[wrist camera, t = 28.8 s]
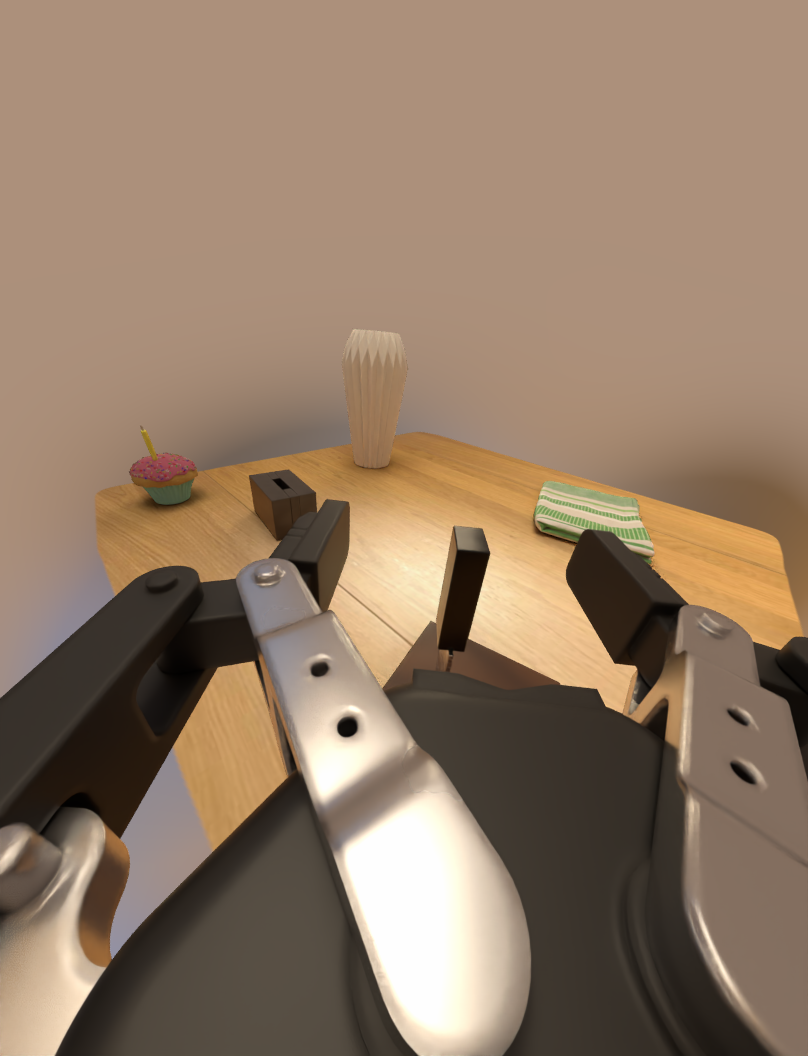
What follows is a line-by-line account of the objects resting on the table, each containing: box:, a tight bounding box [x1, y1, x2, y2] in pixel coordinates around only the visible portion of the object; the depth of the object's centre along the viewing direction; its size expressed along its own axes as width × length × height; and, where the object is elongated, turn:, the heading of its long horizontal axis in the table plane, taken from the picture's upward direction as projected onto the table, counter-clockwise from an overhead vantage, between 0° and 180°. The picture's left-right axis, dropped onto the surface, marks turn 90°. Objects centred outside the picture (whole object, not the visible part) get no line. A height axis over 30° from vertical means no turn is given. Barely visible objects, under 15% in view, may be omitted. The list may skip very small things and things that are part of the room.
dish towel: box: [534, 481, 654, 564], centre depth 57 cm, size 18×23×3 cm
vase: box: [342, 329, 408, 469], centre depth 69 cm, size 13×13×26 cm
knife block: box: [249, 470, 317, 540], centre depth 47 cm, size 6×10×6 cm, turn 38°
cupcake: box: [129, 425, 198, 505], centre depth 49 cm, size 9×8×12 cm
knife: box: [435, 526, 490, 672], centre depth 20 cm, size 2×3×15 cm, turn 176°
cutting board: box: [382, 621, 560, 691], centre depth 23 cm, size 16×12×2 cm
